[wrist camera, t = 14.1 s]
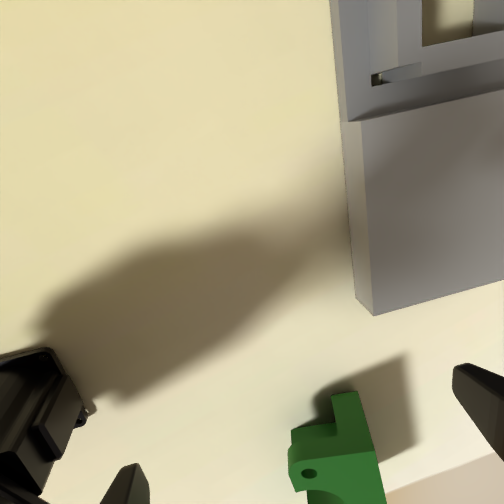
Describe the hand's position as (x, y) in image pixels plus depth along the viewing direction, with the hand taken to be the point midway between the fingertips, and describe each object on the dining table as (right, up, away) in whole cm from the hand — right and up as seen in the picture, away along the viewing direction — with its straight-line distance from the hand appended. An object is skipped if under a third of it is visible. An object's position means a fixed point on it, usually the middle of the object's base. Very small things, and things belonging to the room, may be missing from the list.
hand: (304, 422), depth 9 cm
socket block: (+9, +13, +11) cm, 19 cm away
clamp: (+5, -12, +20) cm, 23 cm away
